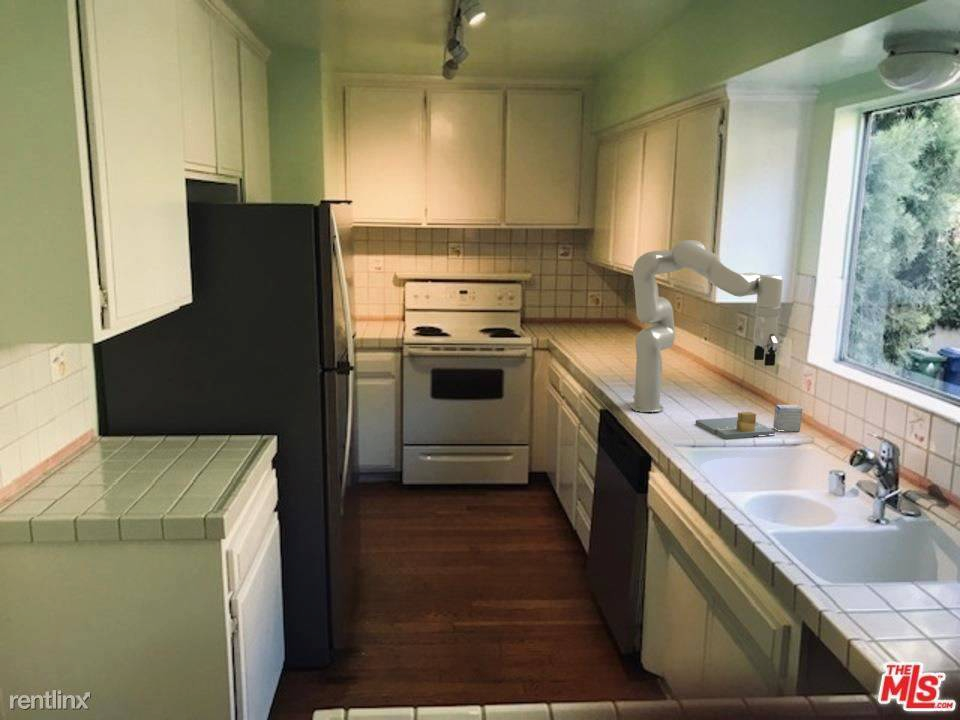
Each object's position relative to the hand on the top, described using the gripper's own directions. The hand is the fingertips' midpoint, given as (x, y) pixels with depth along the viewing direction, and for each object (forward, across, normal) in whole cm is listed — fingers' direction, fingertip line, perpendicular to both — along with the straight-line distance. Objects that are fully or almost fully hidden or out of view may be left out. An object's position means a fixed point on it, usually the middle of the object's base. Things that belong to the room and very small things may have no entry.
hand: (764, 362), depth 250 cm
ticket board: (+25, -7, -8) cm, 27 cm away
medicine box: (+25, -5, +12) cm, 28 cm away
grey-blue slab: (+25, +2, -5) cm, 26 cm away
